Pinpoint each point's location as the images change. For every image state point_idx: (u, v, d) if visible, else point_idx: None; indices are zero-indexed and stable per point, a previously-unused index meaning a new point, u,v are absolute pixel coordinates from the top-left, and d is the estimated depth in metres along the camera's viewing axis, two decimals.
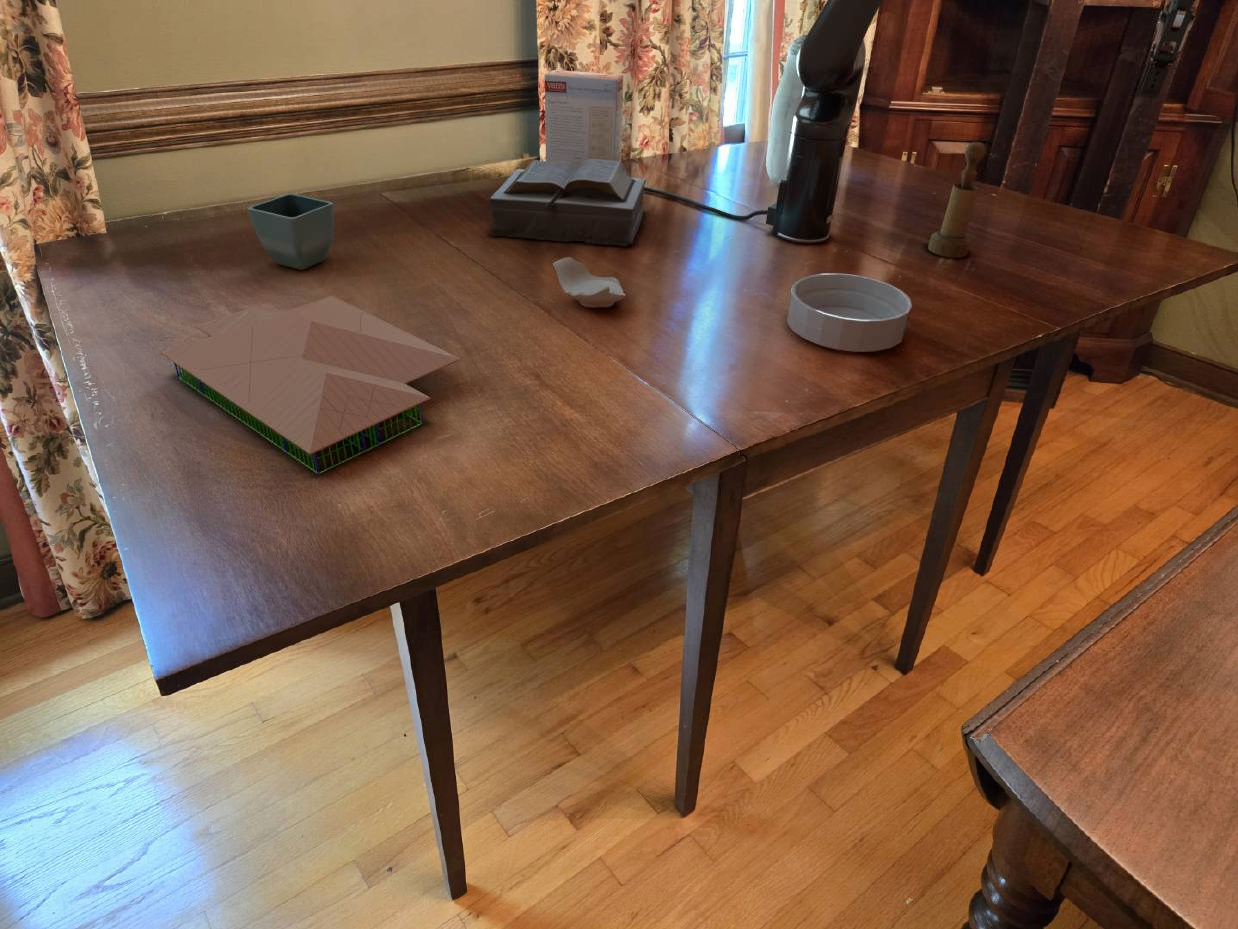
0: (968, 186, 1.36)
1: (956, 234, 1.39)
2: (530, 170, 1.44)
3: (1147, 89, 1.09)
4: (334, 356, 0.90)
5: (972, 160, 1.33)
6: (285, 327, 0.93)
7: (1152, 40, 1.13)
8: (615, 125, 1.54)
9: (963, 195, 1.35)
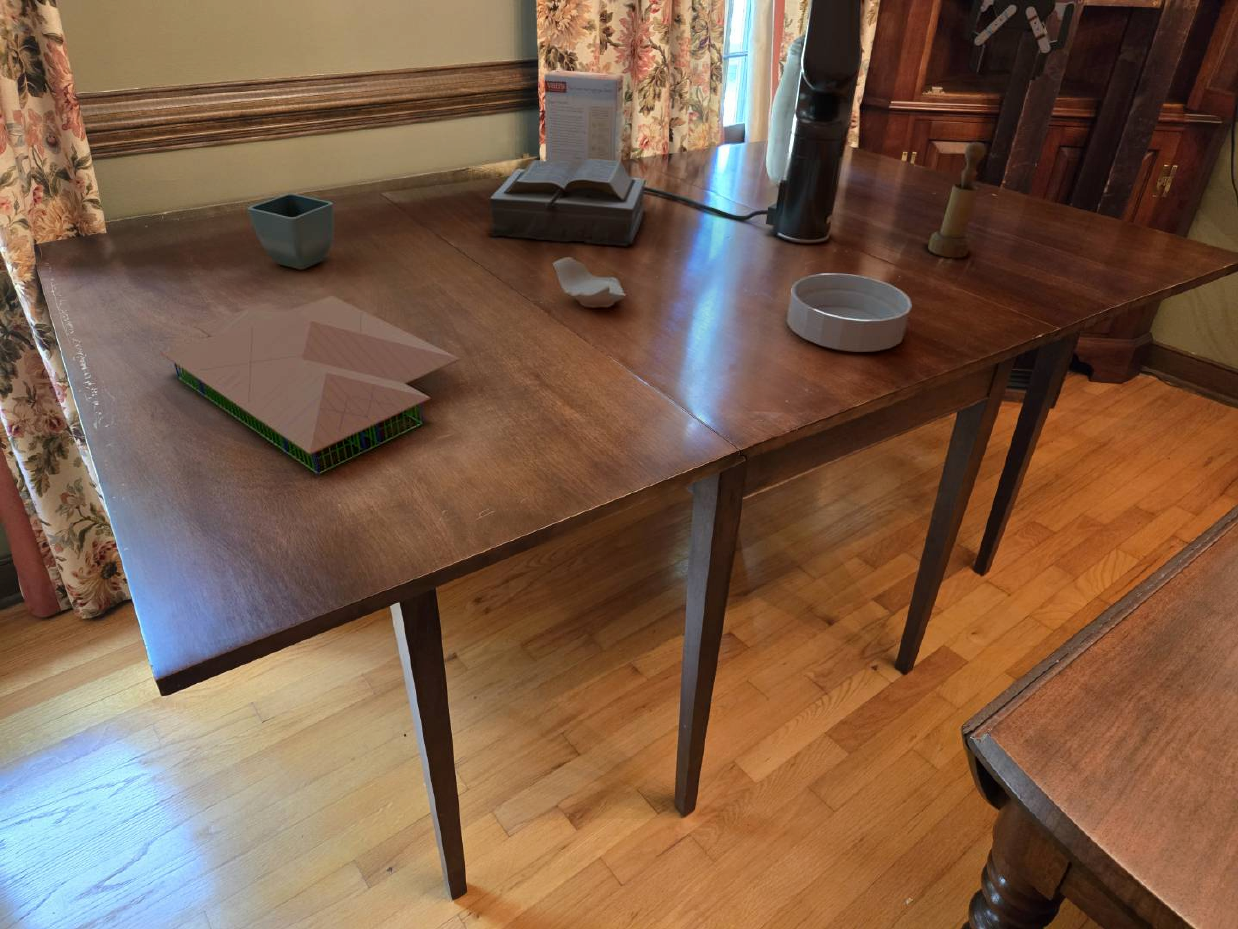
0: (968, 186, 1.36)
1: (956, 234, 1.39)
2: (530, 170, 1.44)
3: None
4: (334, 356, 0.90)
5: (972, 160, 1.33)
6: (285, 327, 0.93)
7: None
8: (615, 125, 1.54)
9: (963, 195, 1.35)
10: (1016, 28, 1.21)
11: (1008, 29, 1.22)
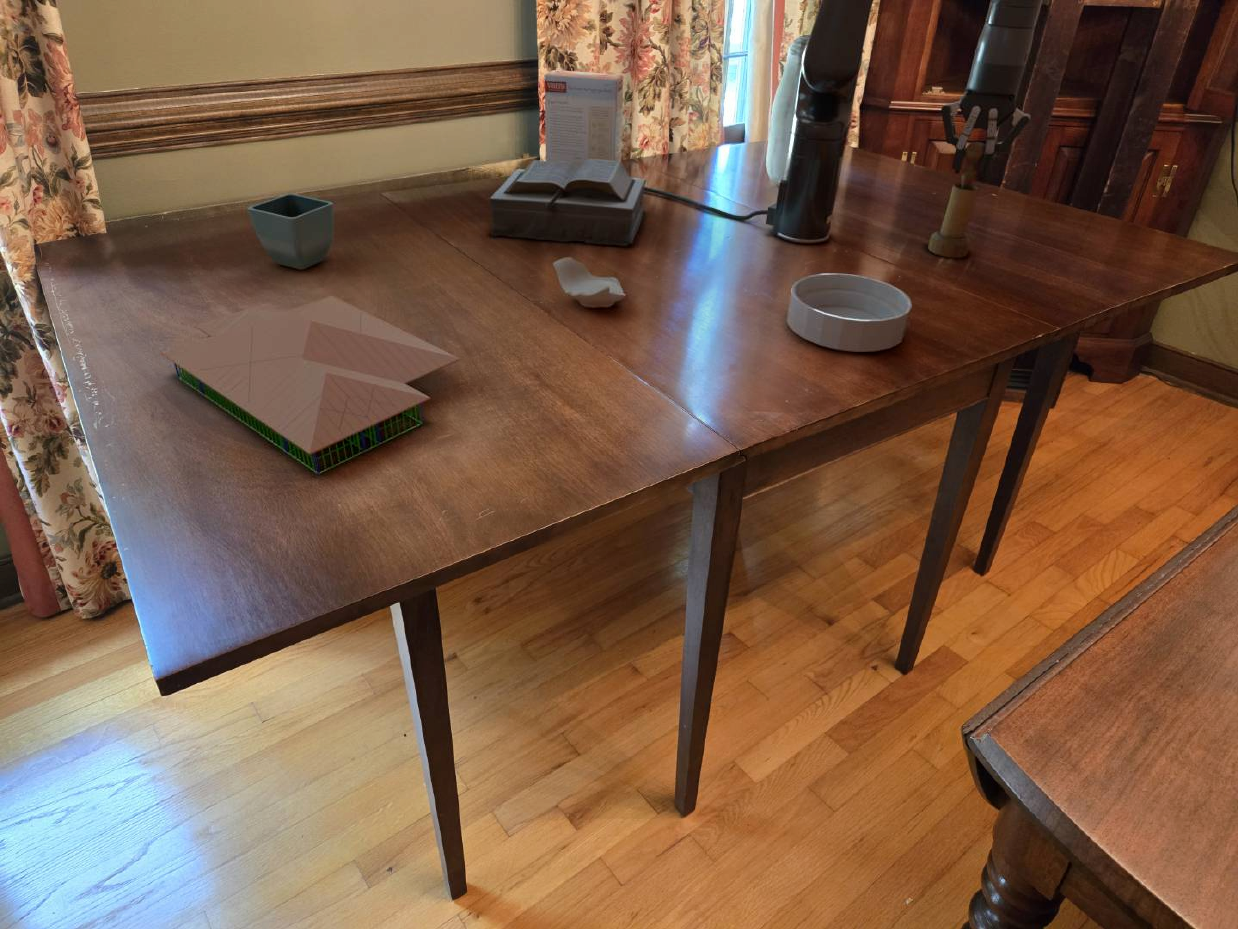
0: (968, 186, 1.36)
1: (956, 234, 1.39)
2: (530, 170, 1.44)
3: None
4: (334, 356, 0.90)
5: (972, 160, 1.33)
6: (285, 327, 0.93)
7: None
8: (615, 125, 1.54)
9: (963, 195, 1.35)
10: (981, 126, 1.30)
11: (973, 126, 1.31)
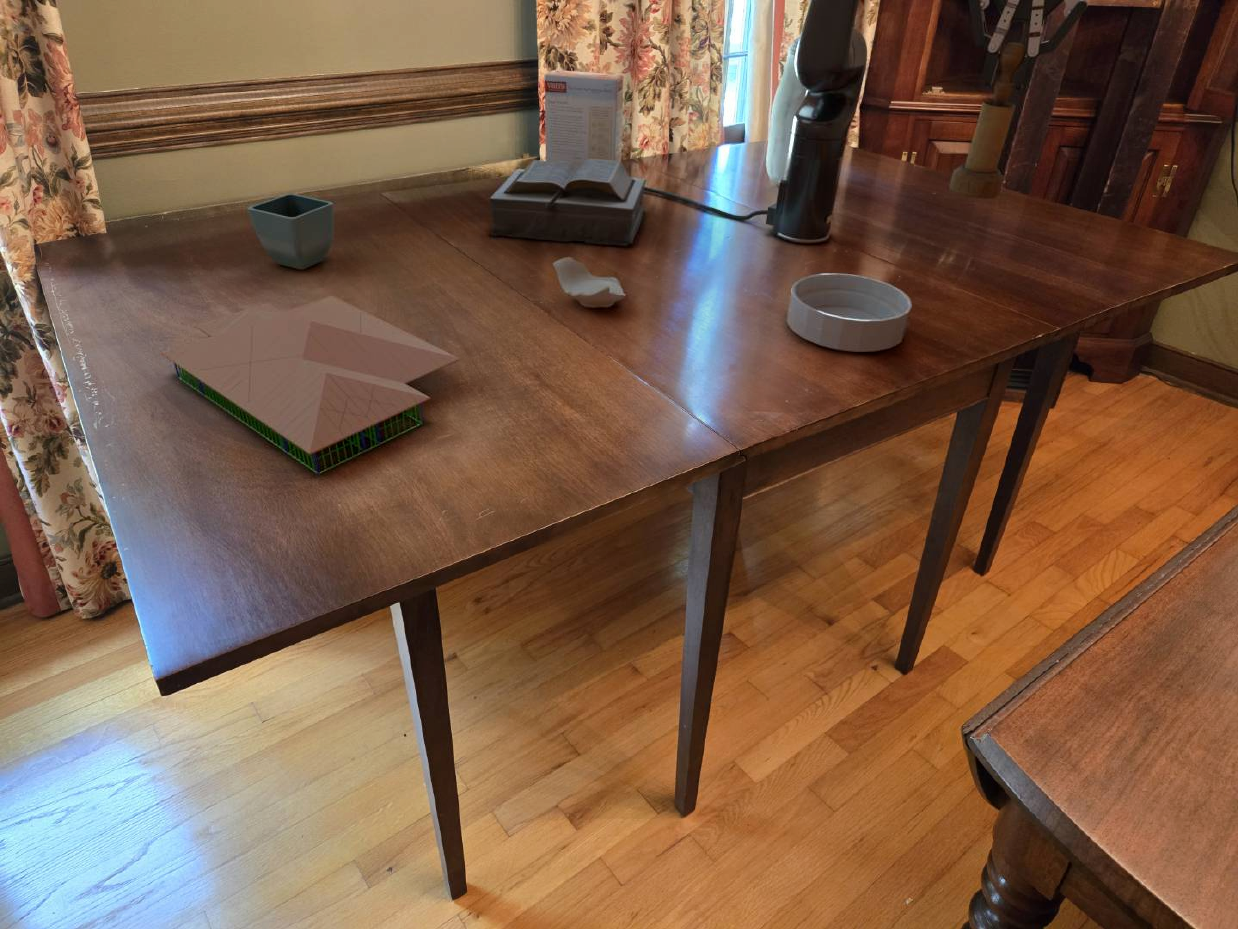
0: (1003, 103, 1.04)
1: (986, 168, 1.07)
2: (530, 170, 1.44)
3: None
4: (334, 356, 0.90)
5: (1009, 66, 1.01)
6: (285, 327, 0.93)
7: None
8: (615, 125, 1.54)
9: (996, 114, 1.04)
10: (1021, 19, 0.98)
11: (1010, 20, 0.99)
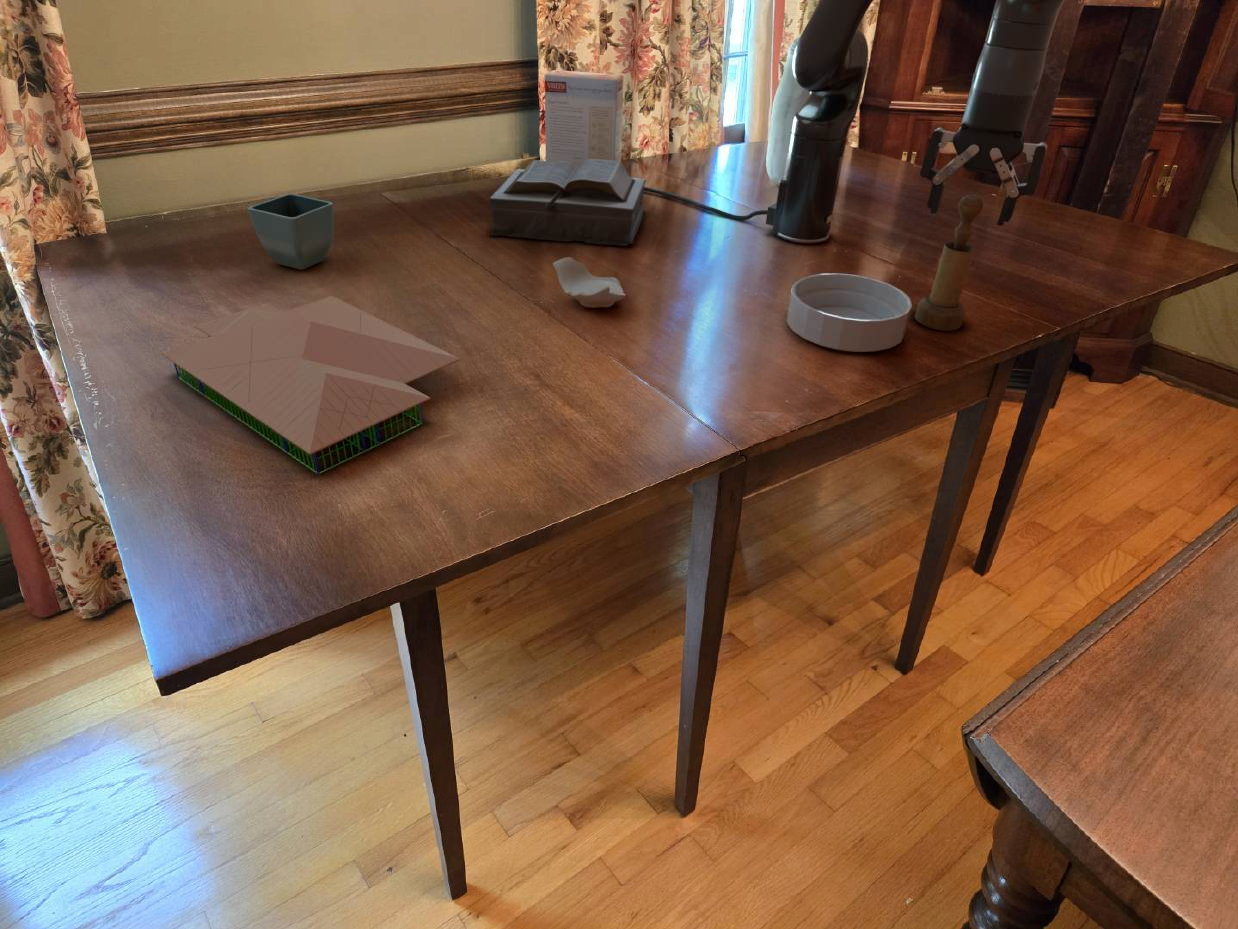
0: (962, 246, 1.12)
1: (948, 303, 1.15)
2: (530, 170, 1.44)
3: None
4: (334, 356, 0.90)
5: (967, 216, 1.09)
6: (285, 327, 0.93)
7: None
8: (615, 125, 1.54)
9: (956, 258, 1.11)
10: (979, 169, 1.05)
11: (970, 169, 1.06)
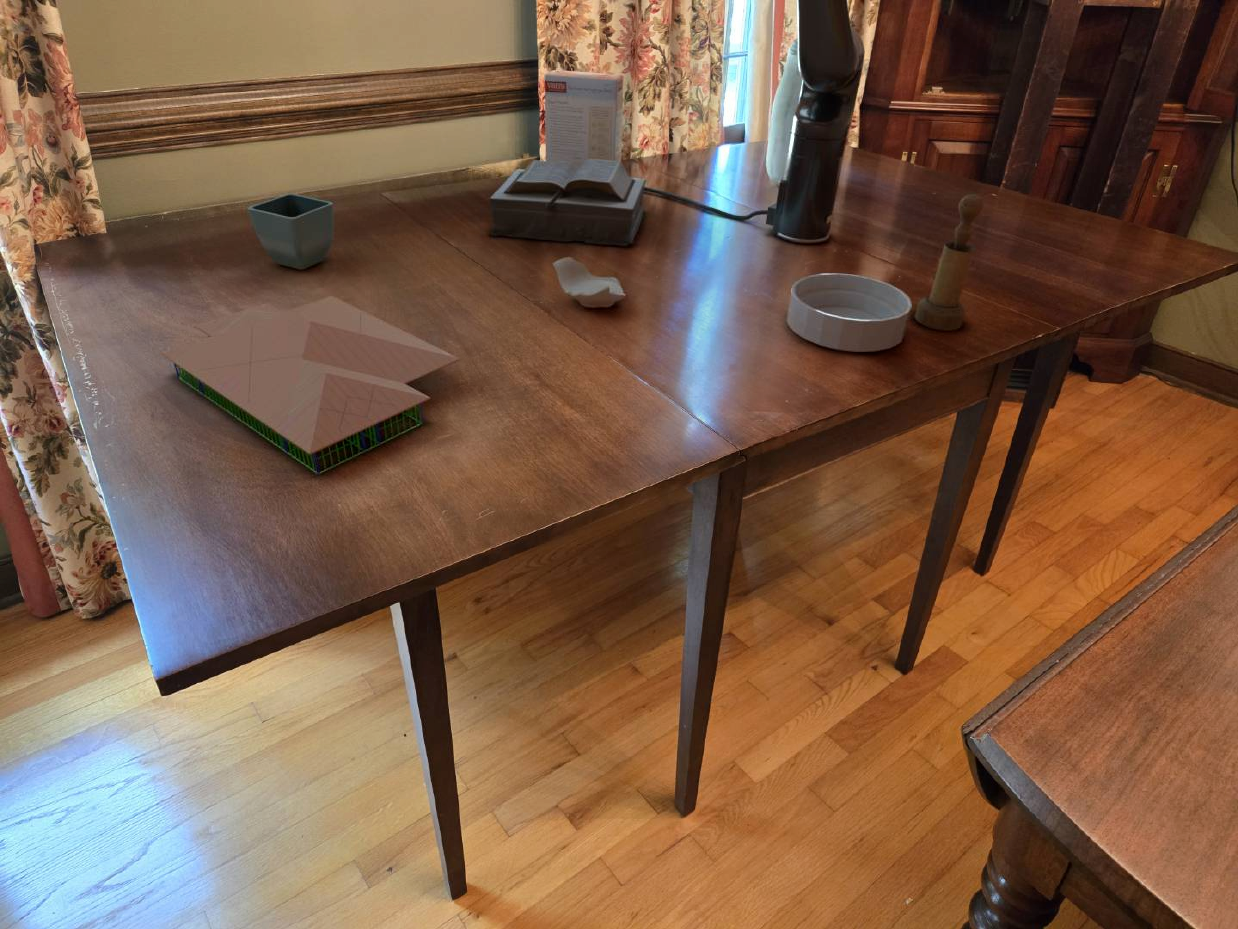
0: (963, 246, 1.12)
1: (948, 303, 1.15)
2: (530, 170, 1.44)
3: None
4: (334, 356, 0.90)
5: (967, 216, 1.09)
6: (285, 327, 0.93)
7: None
8: (615, 125, 1.54)
9: (956, 258, 1.11)
10: None
11: None
